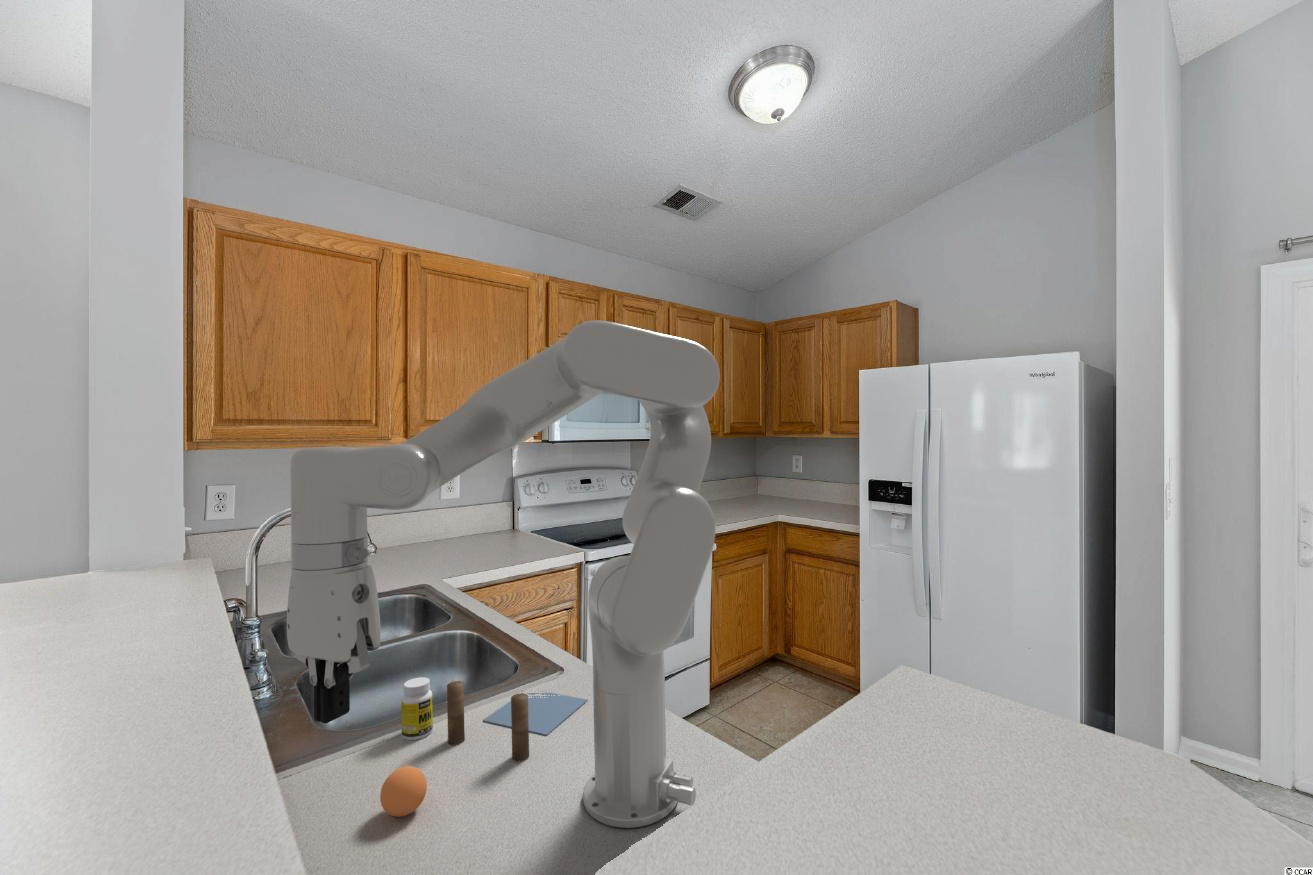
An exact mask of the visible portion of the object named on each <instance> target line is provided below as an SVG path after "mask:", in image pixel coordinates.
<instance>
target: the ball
mask: <svg viewBox="0 0 1313 875" xmlns="http://www.w3.org/2000/svg"><path fill="white" fill-rule="evenodd" d="M427 782H428V781H427V778H426V776H425V774H424V772H422V770H420V769H419V768H417V767H415V766H412V765H411V766H410V765H406V766H402V767H398V768H396V769H395V770H394V771H392V772H391V773H390V774H389V775H388V776H387V777H386V779H385V781H384V782H383V784H382V786H381V790H380V795H379V796H380V798H379V800H380V804H381V807H382V808H383V811H385V812H386V813H387V814H388V815H390V816H393V817H395V818H396V817H399V818H400V817H406V816H408V815H410V814H412V813H413V812H415V811H416V810H417V809H418V808H419V807H420V806H421V804H422V803H423V801H424V799H425V797H426V795H427V790H428V784H427Z"/></svg>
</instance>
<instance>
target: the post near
mask: <svg viewBox="0 0 1313 875" xmlns="http://www.w3.org/2000/svg"><path fill="white" fill-rule="evenodd" d="M510 697H511V698H510V701H511V723H512V728H511V759H512V760H513V761H514V762H517V763H518V762H524V761H526V760H527V759H529V757H530V732H529V719H528V695H527V694H524V693H523V692H521V693H516V694H513V695H512V696H510Z"/></svg>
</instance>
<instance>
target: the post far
mask: <svg viewBox="0 0 1313 875" xmlns="http://www.w3.org/2000/svg"><path fill="white" fill-rule="evenodd" d="M464 690H465V688H464V681H461V680H455V681H451V682H449V683H447V685H446V700H447V701H446V702H447V704H446V705H447V706H446V708H447V709H446V710H447V744H449V745H451V746H456V745H460V744H462V743H464V741H466V740H465V734H466V733H465V732H466V731H465V693H464Z"/></svg>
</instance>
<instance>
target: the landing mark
mask: <svg viewBox="0 0 1313 875" xmlns="http://www.w3.org/2000/svg"><path fill="white" fill-rule="evenodd" d="M541 691H542V692H543V690H541ZM544 692H546V693H540V694H542V695H544V694H545V695H547V696H541V697H543V698H540V696H532V698H528V719H529V733H533V734H537V735H542V736H548V735H550V734H551V733H552V732H553V731H554V730H556V729H557V728H558V727H559V726H560V725H561V724H563V723H564V722H565V721H566V720H567V719H569V717H571V716H572V715H573V714H574V713H575V712H576V711H578V710H579V709H580V708H581V707H583V706H584V705H585V704H586V703H587V702H588V701H589V699H586V698H581V697H575V696H571V695H565V694H559V693H554V692H549V691H544ZM547 692H549V693H547ZM527 694H529V695H530V694H531V695H535V694H539V693H527ZM548 695H550V696H548ZM551 695H552V696H551ZM553 695H555V696H553ZM558 695H560V696H558ZM561 695H562V696H561ZM528 697H529V696H528ZM530 697H531V696H530ZM533 697H534V698H533ZM536 697H537V698H536ZM538 697H539V698H538ZM544 697H546V698H544ZM547 697H548V698H547ZM482 722H483V723H488V724H493V725H498V726H501V727H507V728H511V729H512V723H511V700H510V701H509V702H507V703H506V704H504V705H503V706H501V707H499V708H498V709H497V710H495V711H494V712H493V713H491V714H490V715H488V716H487V717H485V718H484V719H482Z"/></svg>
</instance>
